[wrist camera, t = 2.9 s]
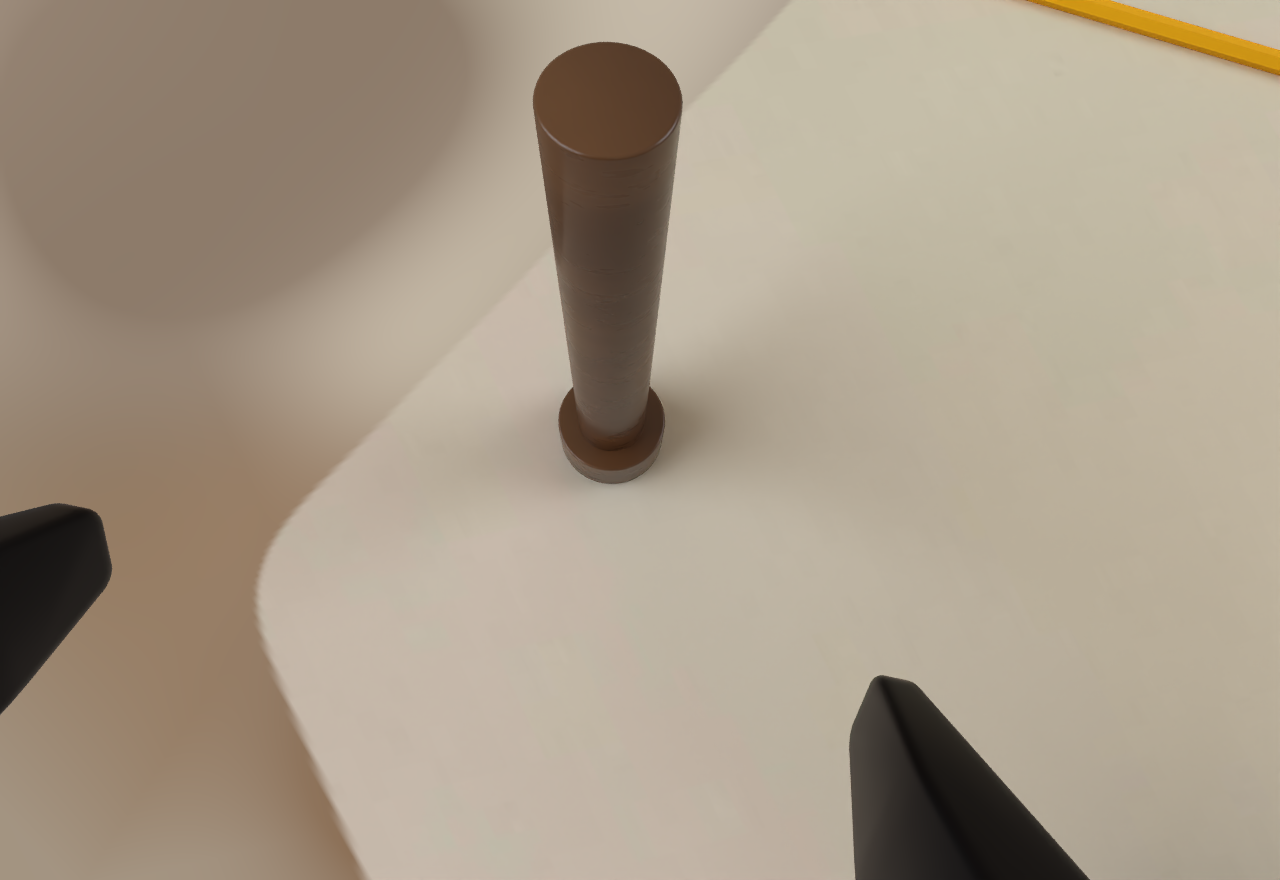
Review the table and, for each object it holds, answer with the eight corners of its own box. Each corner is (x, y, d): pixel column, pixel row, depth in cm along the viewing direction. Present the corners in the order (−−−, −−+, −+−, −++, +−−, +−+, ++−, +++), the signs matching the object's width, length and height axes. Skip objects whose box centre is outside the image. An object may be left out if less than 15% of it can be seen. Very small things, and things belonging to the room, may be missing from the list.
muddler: (601, 504, 22) (581, 241, 9) (542, 426, 22) (439, 75, 9) (681, 445, 22) (777, 118, 9) (621, 371, 23) (630, -26, 10)
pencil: (917, -42, 30) (924, -58, 29) (1350, 86, 28) (1368, 72, 28) (913, -30, 30) (920, -46, 29) (1350, 101, 28) (1368, 87, 27)
